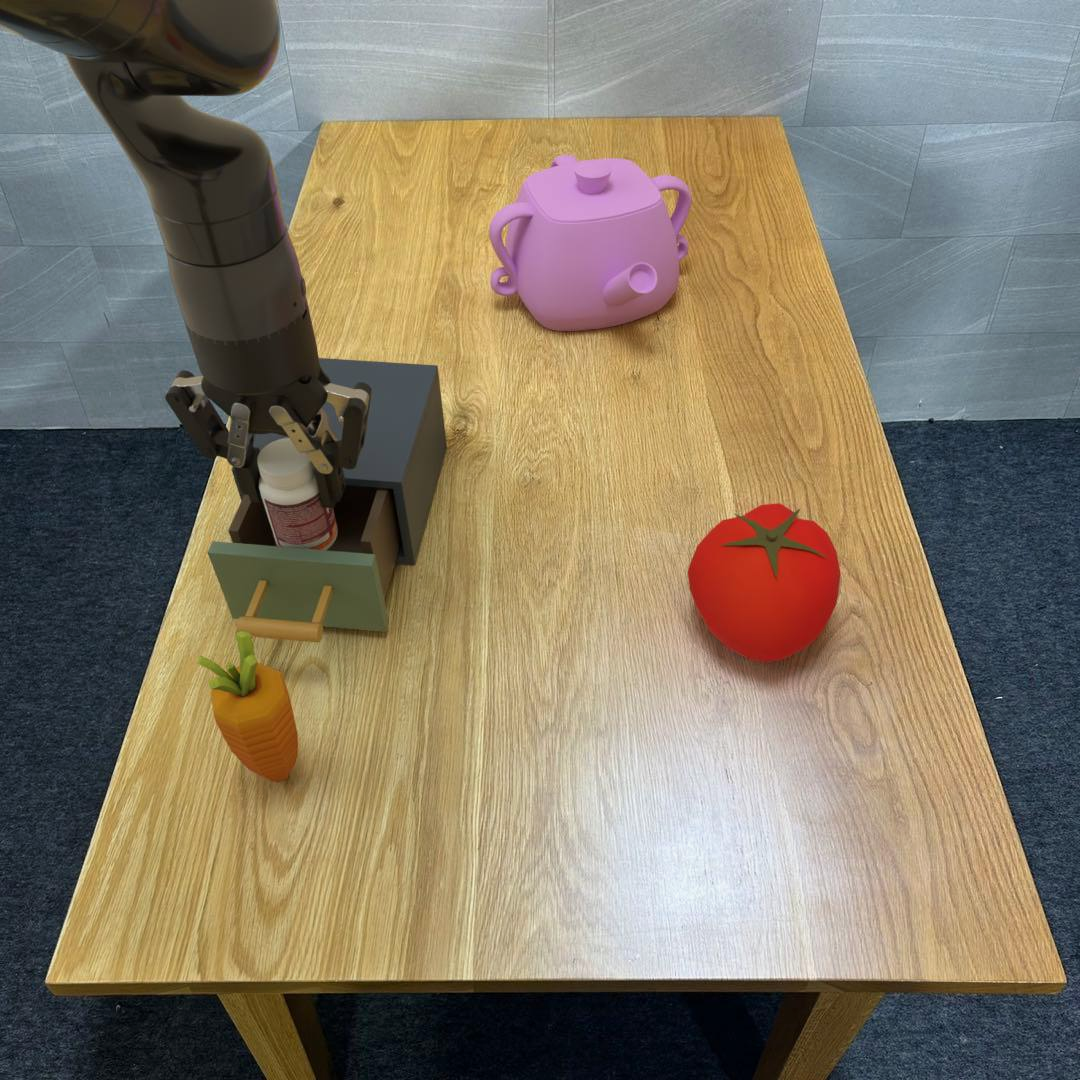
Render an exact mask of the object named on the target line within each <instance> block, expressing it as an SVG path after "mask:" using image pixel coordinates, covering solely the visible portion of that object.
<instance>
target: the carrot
mask: <svg viewBox="0 0 1080 1080" xmlns="http://www.w3.org/2000/svg"><path fill="white" fill-rule="evenodd" d="M235 637H236V638H235V639H236V644H237V647H238V653H239V666H235V665H234V664H233V662H229V663H227V664H226V665H225V668H223V667H221V666H220V665H219V664H218V663H216V662H215V661H213V660H211V659H209V658H208V657H205V656H203V655H199V657H198V658H197V664H198V665H199V666H201V667H203V668H204V669H207V670H209V671H211V672H212V673H214V675H217V677H213V678H211V679H209V680H208V686H209V688H210V696H211V704H212V710H213V718H214V721H215V724H216V725H217V727H218V729H219V732H220V734H221V736H222V737H223V739H224V740H225V742H226V745H227V746H228V748H229V749H230V751H231V752H232V754H233V755H234V756H235V757H236V759H238V761H240V763H241V764H243V765H244V766H245V767H246V769H248V771H250V772H252V773H254V774H256V775H257V776H259V777H261V778H264V779H266V780H268V781H270V782H273V783H281V782H285V781H286V780H287V778H288V777H289V776H290V774H291V772H292V771H293V770H294V767H295V766H296V763H297V759H298V756H299V738H298V737H299V736H298V728H297V724H296V719H295V715H294V710H293V706H292V701H291V698H290V694H289V693H290V692H289V690H288V687H287V683H286V680H285V677H284V674H282V672H280V671H279V670H277V669H274V668H272V667H270V666H268V665H265V664H263V663H260V662H259V661H258V659H257V657H256V656H255V655H256V654H255V648H254V643H253V637H251V635H250V633H249V632H244V631H240V632H238V633H237V632H236V633H235ZM225 669H226V670H225Z"/></svg>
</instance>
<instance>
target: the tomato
mask: <svg viewBox="0 0 1080 1080" xmlns="http://www.w3.org/2000/svg"><path fill="white" fill-rule="evenodd" d="M800 512H801V508H798V509H797V510H796V511H793V510H792V509H790V508H789V507H787V506H785V505H784V504H782V503H781V502H778V503H777V502H776V503H767V504H761V505H759V506H757V507H755V508H754V509H751V510H749V511H747V512H746V513H745V514H743V515H739V514H737V513H735V512H733V515H734V516H735V517H731V518H726V519H722V520H721V521H719V522H718V523H717V524H716V525H715V526H714V527H712V529H711V530H710V531H708V532H707V534H706V535H705V536H704V538H703V539H701V541H700V542H698V544H697V545H696V547H695V550H694V553H693V555H692V558H691V561H690V563H689V566H688V569H687V579H688V587H689V591H690V594H691V596H692V599H693V602H694V605H695V607H696V609H697V610H698V612H699V614H700V616H701V618H702V619H703V621H704V623H705V625H706V627H707V628H708V630H709V632H710V633H711V634H712V635H713V636H714V637H715V638H716V639H717V640H718V641H719V642H721V644H723V646H725V647H726V648H727V649H729V650H730V651H733V652H735V653H736V654H739V655H740V656H742V657H744V658H746V659H748V660H750V661H754V662H755V661H756V662H760V663H771V662H776V661H782V660H783V661H784V660H785V659H787V658H789V657H791V656H793V655H795V654H796V653H798V652H801V651H802V650H804V649H806V648H807V647H809V646H810V645H812V644H813V643H814V641H816V639H817V638H819V636H821V634H823V632H824V631H825V629H826V627H827V624H828V622H829V621H830V619H831V616H832V614H833V612H834V610H835V607H836V605H837V602H838V598H839V591H840V582H841V568H840V563H839V558H838V552H837V549H836V547H835V545H834V543H833V541H832V539H831V537H830V534H829V533H828V531H826V530H824V528H822V526H820V525H819V524H818V523H817V522H816V521H815V520H810V519H803V518H798V514H799V513H800Z"/></svg>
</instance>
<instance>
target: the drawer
mask: <svg viewBox="0 0 1080 1080" xmlns="http://www.w3.org/2000/svg"><path fill="white" fill-rule="evenodd" d="M333 511H334V515H335V520H336V524H337V528H338V533H337V538H336V540H335V542H334V543H333V544H332V546H331V547H330V548H329V549H327V550H316V549H303V548H291V547H279V546H277V544H276V542H275V538H274V535H273V531H272V528H271V525H270V522H269V519H268V516H267V513H266V509H265V506H264V503H263V501H262V502H261V503H259V502H251V501H250V498H249V495H245V494H244V497H243V499H242V501H241V500H240V503H239V505H238V508H237V510H236V512H235V515H234V517H233V518H232V521H231V523H230V525H229V528H228V530H227V531H228V534H229V537H230V540H231V542H229V541H227V542H226V541H217V540H213V541H211V544H210V546H209V548H208V550H207V556H208V557H209V560H210V563H211V565H212V569H213V571H214V573H215V576H216V578H217V581H218V584H219V587H220V589H221V592H222V595H223V597H224V600H225V602H226V605H227V608H228V610H229V612H230V616H231V618H232V619H236V620H237V623H236V633H238V632H240V631H244V632H249V633H250V635H251V637H252V638H262V639H271V640H284V641H293V642H294V641H295V642H306V643H316V644H319V643H321V642H322V640H323V635H324V627H327V628H338V629H339V628H340V629H349V630H359V631H360V630H361V631H372V632H384V633H385V632H386V631H387V629H388V624H389V620H390V619H389V616H388V611H387V606H386V600H385V599H386V596H387V592H388V589H389V586H390V583H391V579H392V577H393V576H392V575H393V572H394V569H395V566H396V563H395V562H396V559H397V555H398V552H399V548H400V545H401V542H402V538H401V532H400V527H399V521H398V515H397V509H396V503H395V498H394V492H393V489H391V488H378V487H364V486H351V485H346V486H345V489H344V491H343V494H342V497H341V500H340V502H336V504H335V507H334V508H333Z"/></svg>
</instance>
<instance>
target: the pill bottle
mask: <svg viewBox="0 0 1080 1080" xmlns="http://www.w3.org/2000/svg"><path fill="white" fill-rule="evenodd" d="M257 463H258V468H259V471H260V475H261V476H260V479H259V490H260V494H261V497H262V500H263V503H264V506H265V509H266V513H267V516H268V519H269V522H270V525H271V528H272V531H273V535H274V538H275V542H276V544H277V546H279V547H291V548H303V549H316V550H327V549H329V548H330V547H331V546H332V544H333V543H334V542H335V540H336V538H337V533H338V528H337V524H336V520H335V515H334V511H333V508H323V506H322V502H321V498H320V494H319V490H318V485H317V481H316V477H315V471H316V468H315V466H314V465H313V463H312V462H311V460H310V459H309V458H308V456H307V455H306V453H300V452H299V451H298V450H297V448H296V447H295V445H294V444H293V442H292V441H291V439H290V438H284V439H279V440H276V441H273V442H271V443H269V444H268V445H267V446H265V447H264V448H263V449H262V450H261V451H260V453H259V455H258V458H257Z"/></svg>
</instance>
